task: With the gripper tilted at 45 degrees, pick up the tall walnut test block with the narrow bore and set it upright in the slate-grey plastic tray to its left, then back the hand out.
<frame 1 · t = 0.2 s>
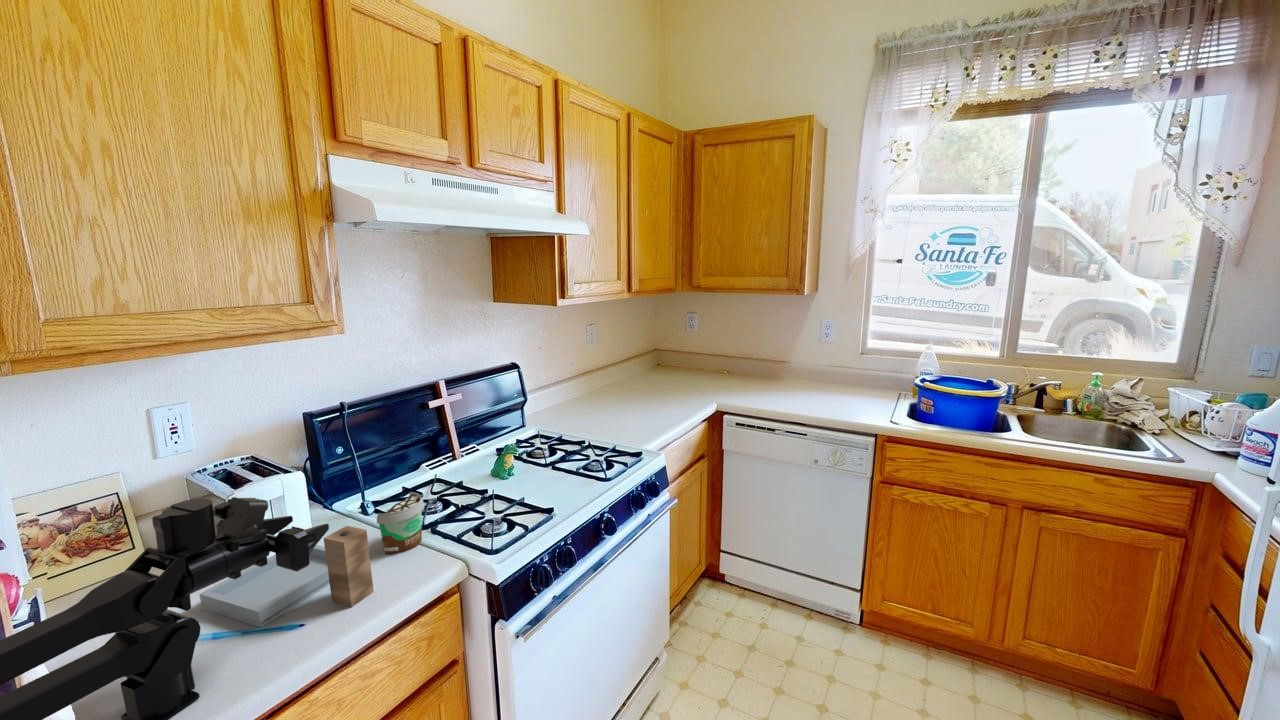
hand: (309, 522, 97), 17 cm above the worktop, tool horizontal, fingers open, 9 cm apart
food container: (410, 545, 121), on the worktop
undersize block: (353, 596, 102), on the worktop
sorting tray: (284, 586, 105), on the worktop
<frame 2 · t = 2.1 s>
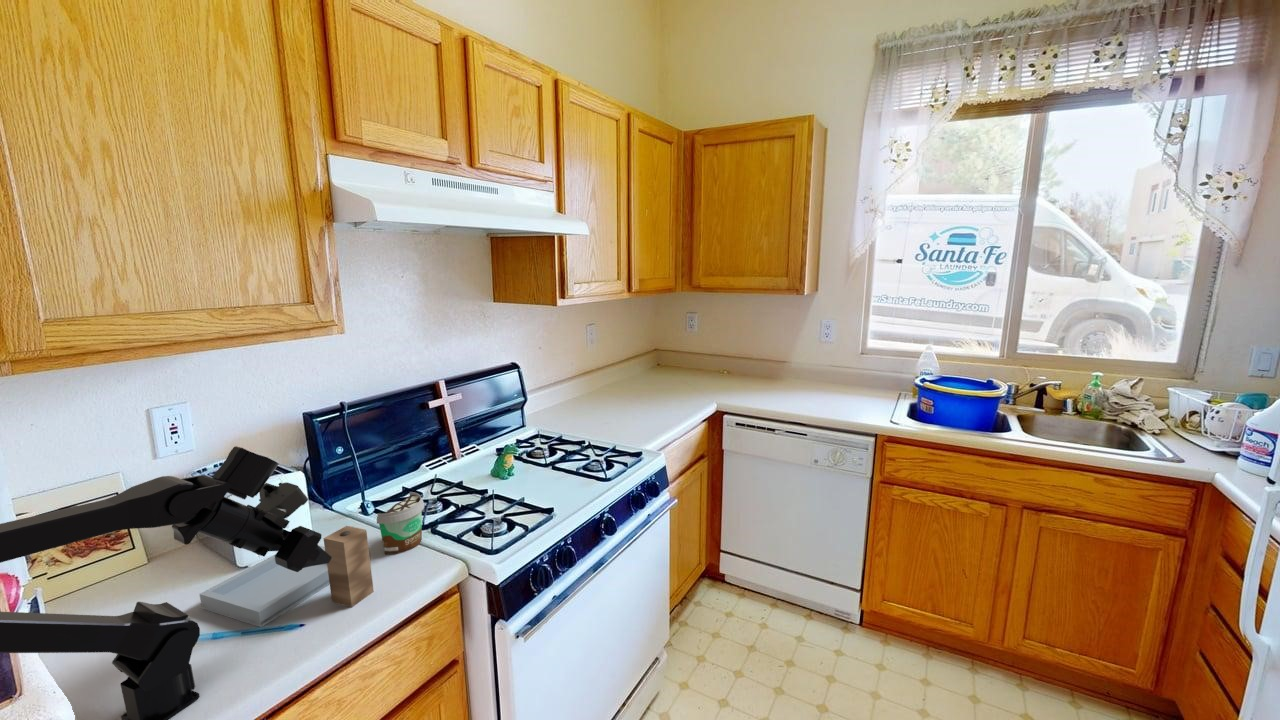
hand: (314, 553, 95), 12 cm above the worktop, tool tilted 45°, fingers open, 9 cm apart
nothing on the worktop moved.
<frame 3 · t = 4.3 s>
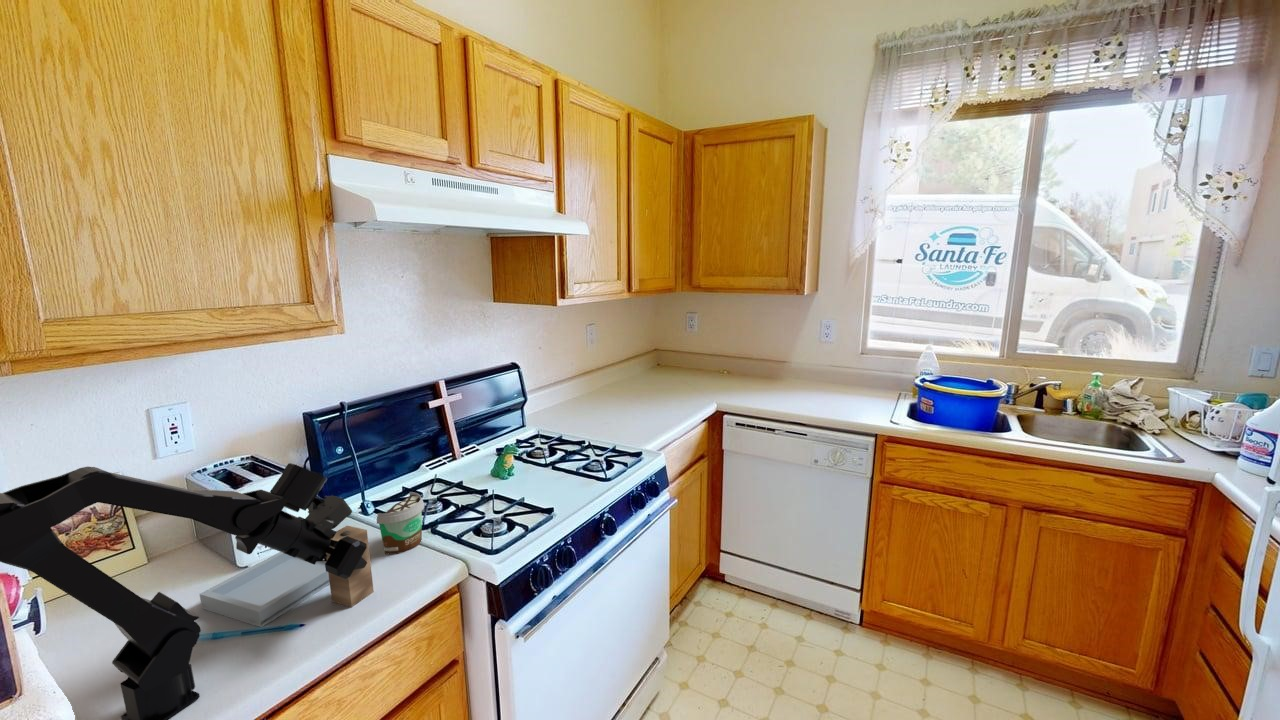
hand: (356, 561, 102), 7 cm above the worktop, tool tilted 45°, fingers closed on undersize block, 5 cm apart
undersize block: (353, 596, 102), on the worktop, touching gripper
everything else where it was.
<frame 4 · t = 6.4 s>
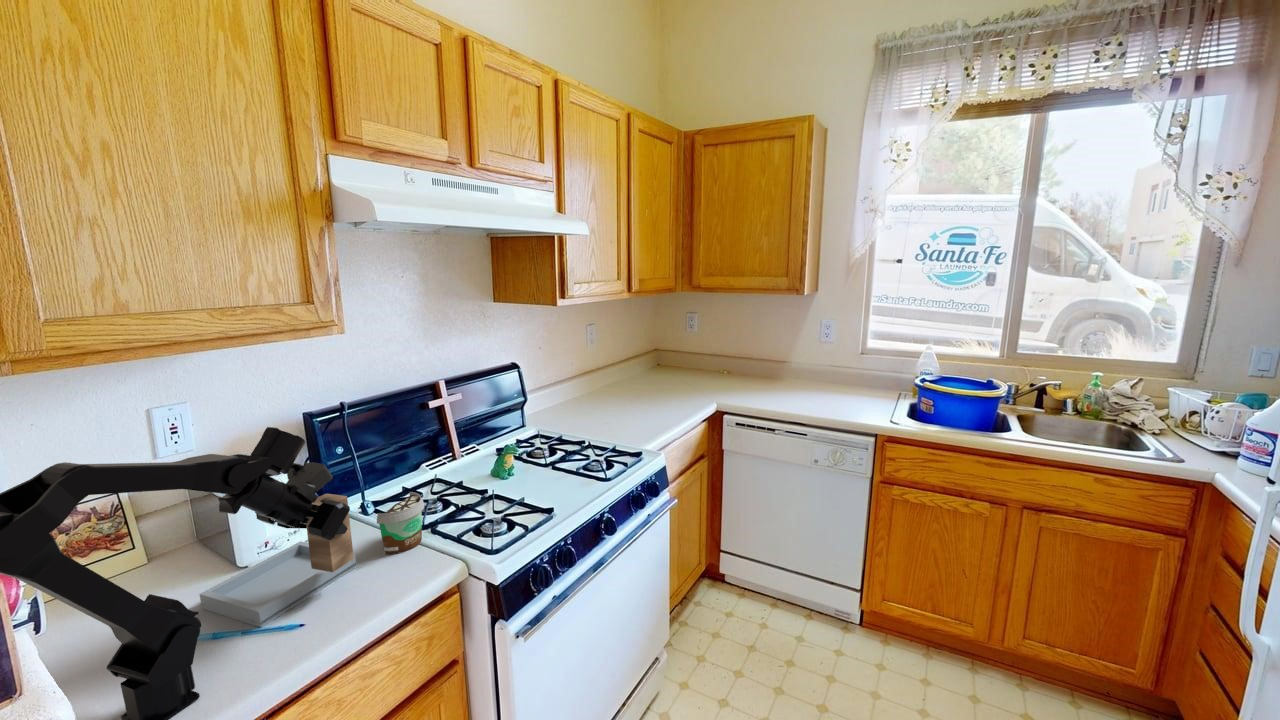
hand: (335, 528, 103), 12 cm above the worktop, tool tilted 45°, fingers closed on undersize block, 5 cm apart
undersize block: (333, 563, 103), point 6 cm above the worktop, touching gripper
everything else where it was.
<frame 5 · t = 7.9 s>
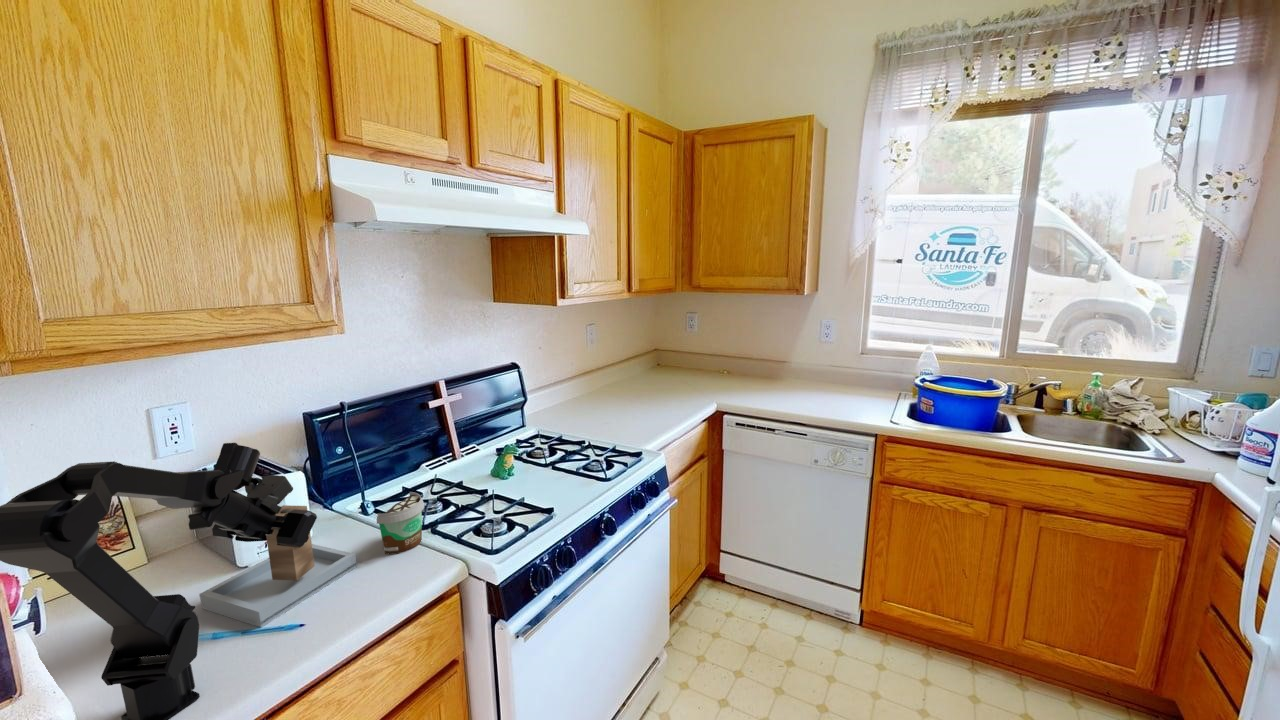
hand: (295, 538, 105), 9 cm above the worktop, tool tilted 45°, fingers closed on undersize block, 5 cm apart
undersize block: (293, 572, 105), point 3 cm above the worktop, touching gripper
everything else where it was.
when the fingers open (9 cm above the worktop, at t = 8.8 s): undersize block drops 1 cm, resting on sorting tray.
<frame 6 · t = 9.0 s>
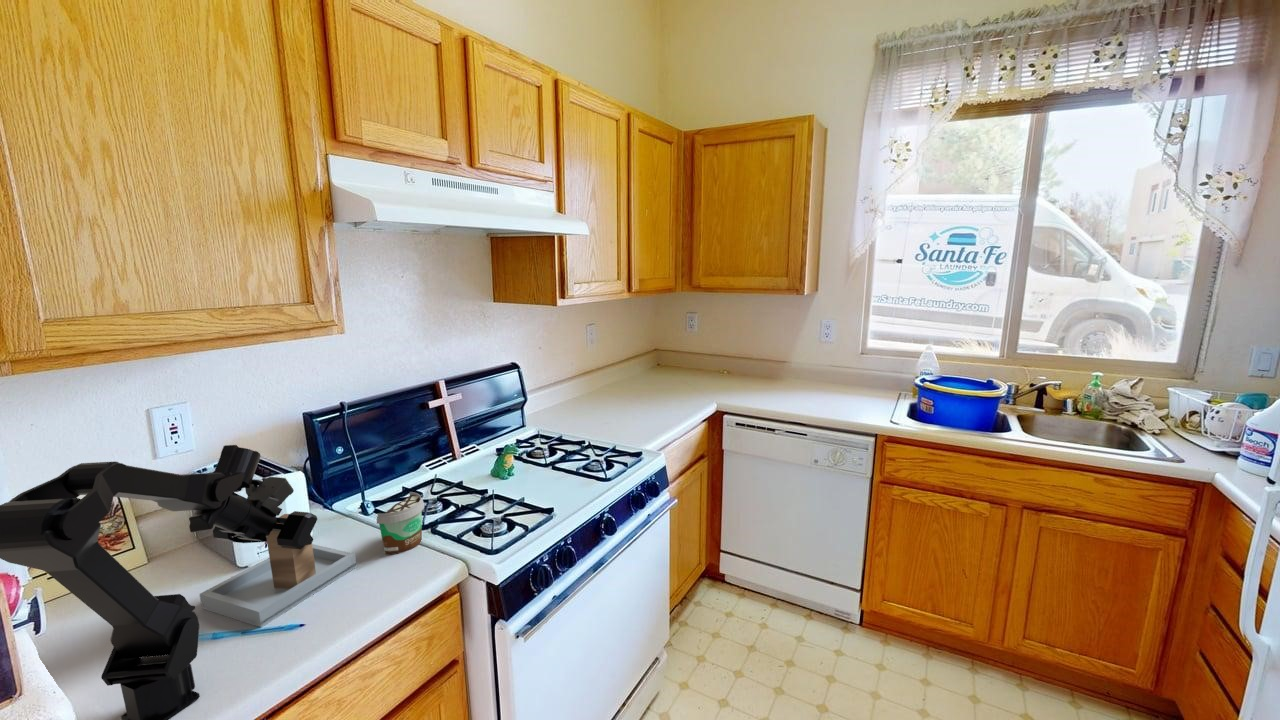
hand: (295, 540, 105), 9 cm above the worktop, tool tilted 45°, fingers open, 7 cm apart
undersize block: (295, 581, 105), point 1 cm above the worktop, touching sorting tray
everything else where it was.
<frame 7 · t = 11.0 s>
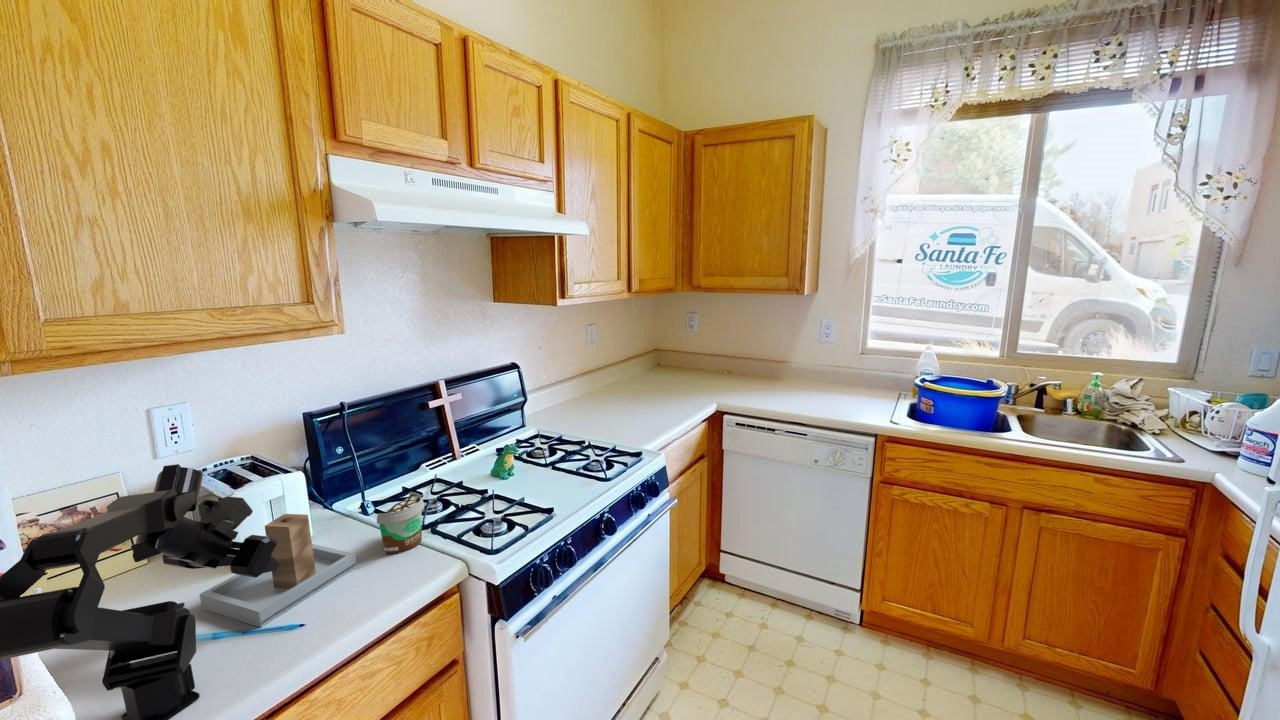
hand: (256, 564, 97), 9 cm above the worktop, tool tilted 45°, fingers open, 9 cm apart
nothing on the worktop moved.
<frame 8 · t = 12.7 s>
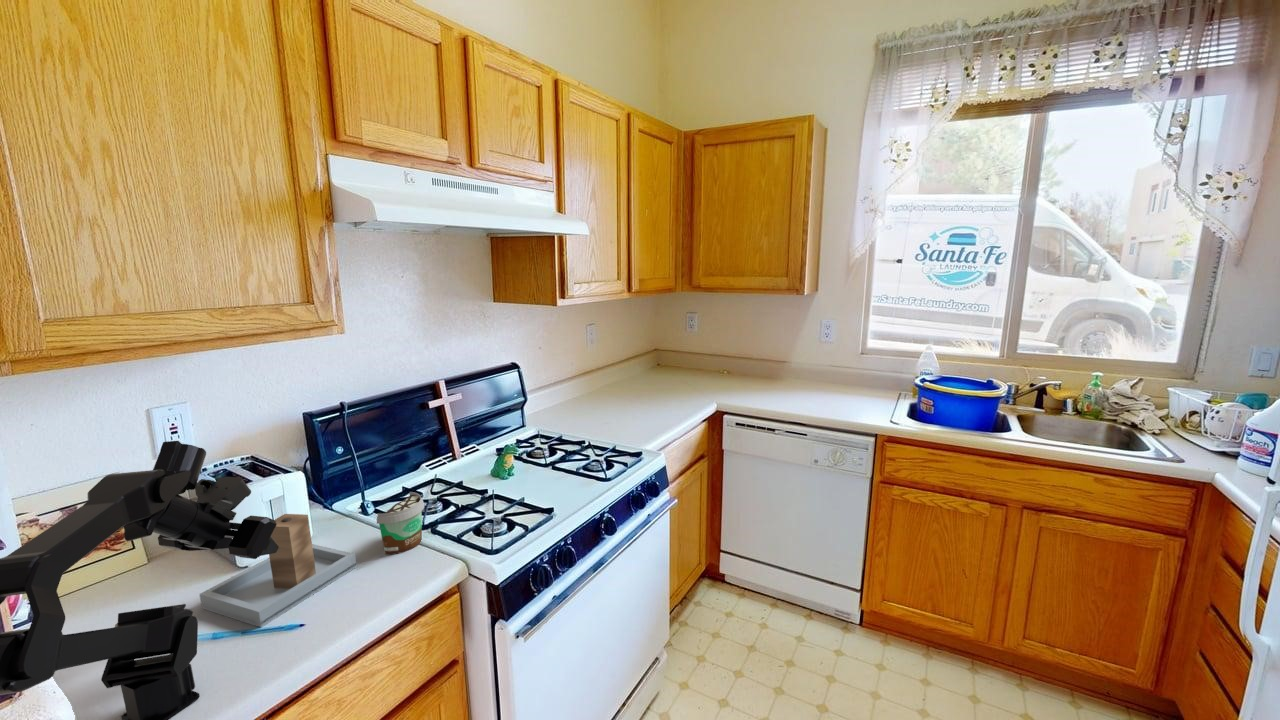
hand: (255, 547, 94), 14 cm above the worktop, tool tilted 45°, fingers open, 9 cm apart
nothing on the worktop moved.
at the end: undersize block inside the target area on the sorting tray (2.3 cm from its centre), point 1.0 cm above the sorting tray's base; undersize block tilted 0°; the gripper is holding nothing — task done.
